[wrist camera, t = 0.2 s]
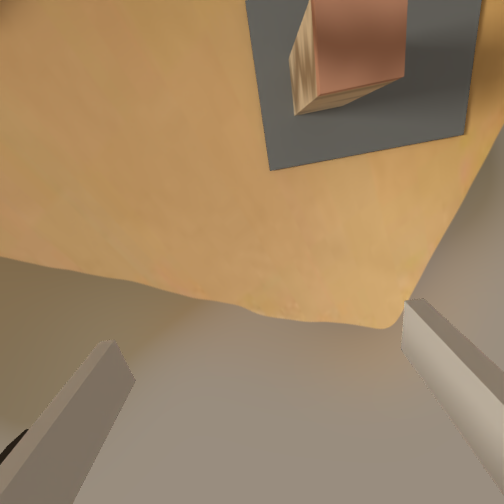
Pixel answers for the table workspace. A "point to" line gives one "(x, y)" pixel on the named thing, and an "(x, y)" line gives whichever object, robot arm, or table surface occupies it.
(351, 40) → the maple block
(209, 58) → the table surface
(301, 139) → the rubber mat
